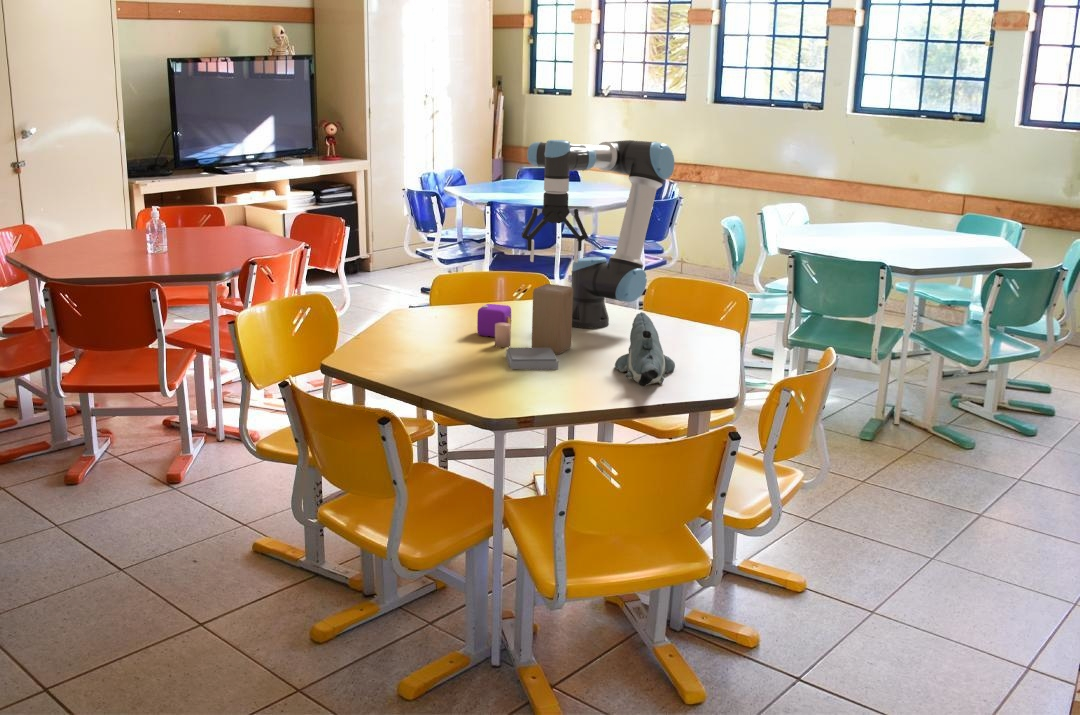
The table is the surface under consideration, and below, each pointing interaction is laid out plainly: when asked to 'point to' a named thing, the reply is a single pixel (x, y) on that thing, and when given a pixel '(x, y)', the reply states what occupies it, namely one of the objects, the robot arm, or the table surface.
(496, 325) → the peach rounded capsule part
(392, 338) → the table surface
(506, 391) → the table surface
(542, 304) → the wooden block
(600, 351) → the table surface
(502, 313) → the toy camera
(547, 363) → the stand
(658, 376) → the shark plush
